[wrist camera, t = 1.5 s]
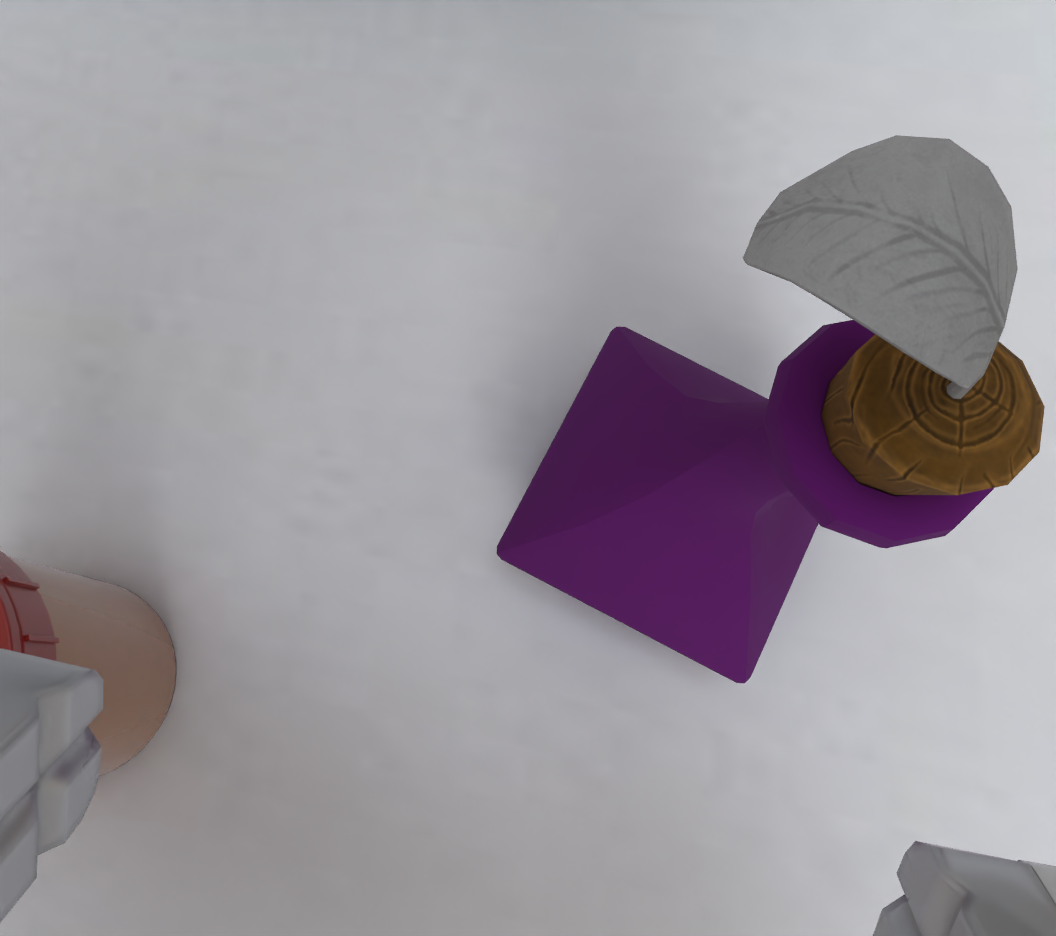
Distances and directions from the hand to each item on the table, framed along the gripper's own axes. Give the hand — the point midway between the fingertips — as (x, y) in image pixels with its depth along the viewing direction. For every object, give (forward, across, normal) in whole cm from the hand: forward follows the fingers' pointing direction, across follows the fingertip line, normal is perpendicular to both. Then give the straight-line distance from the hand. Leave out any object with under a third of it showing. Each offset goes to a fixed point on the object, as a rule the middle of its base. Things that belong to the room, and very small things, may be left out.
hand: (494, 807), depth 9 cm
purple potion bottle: (+19, +4, -4) cm, 20 cm away
